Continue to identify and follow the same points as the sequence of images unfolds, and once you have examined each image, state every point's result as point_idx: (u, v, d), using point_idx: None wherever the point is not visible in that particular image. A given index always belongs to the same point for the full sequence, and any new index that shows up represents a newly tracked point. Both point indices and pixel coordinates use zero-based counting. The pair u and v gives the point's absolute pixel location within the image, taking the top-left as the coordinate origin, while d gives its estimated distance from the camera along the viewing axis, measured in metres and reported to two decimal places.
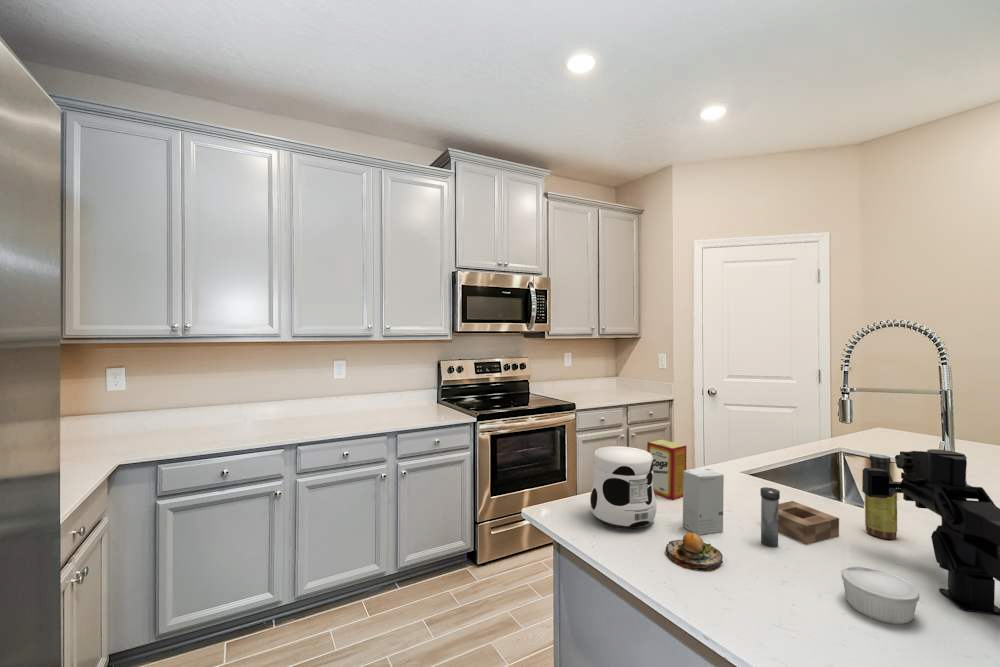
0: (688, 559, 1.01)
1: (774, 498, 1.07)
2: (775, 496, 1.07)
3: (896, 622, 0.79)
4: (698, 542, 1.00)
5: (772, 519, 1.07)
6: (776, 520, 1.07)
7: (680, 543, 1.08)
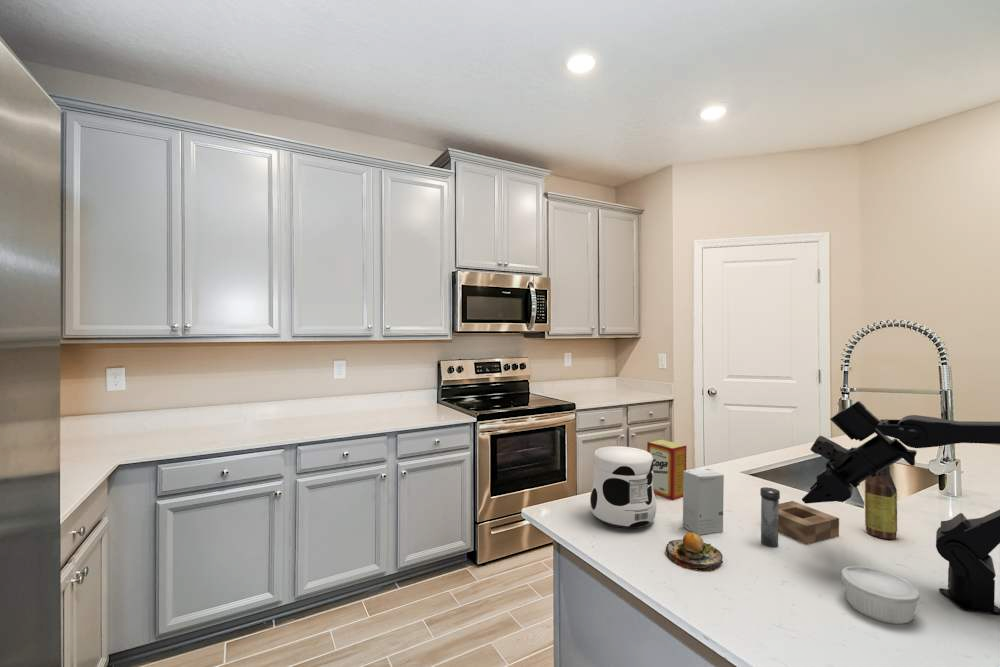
0: (688, 559, 1.01)
1: (774, 498, 1.07)
2: (775, 496, 1.07)
3: (896, 622, 0.79)
4: (698, 542, 1.00)
5: (772, 519, 1.07)
6: (776, 520, 1.07)
7: (680, 543, 1.08)
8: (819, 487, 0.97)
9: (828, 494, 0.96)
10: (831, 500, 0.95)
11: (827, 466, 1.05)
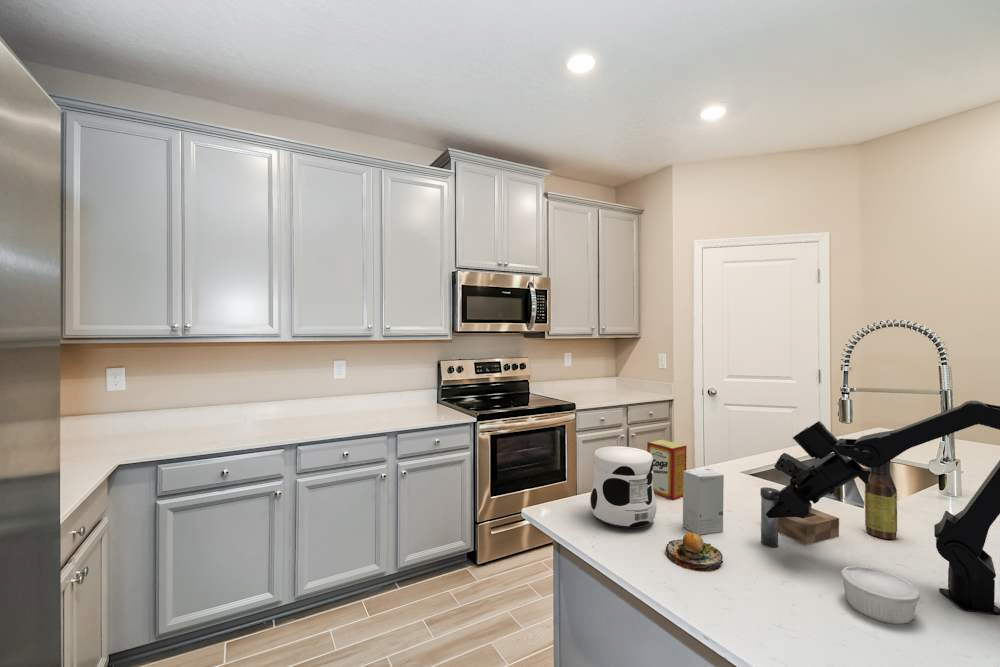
0: (688, 559, 1.01)
1: (774, 498, 1.07)
2: (775, 496, 1.07)
3: (896, 622, 0.79)
4: (698, 542, 1.00)
5: (772, 519, 1.07)
6: (776, 520, 1.07)
7: (680, 543, 1.08)
8: (781, 503, 1.02)
9: (789, 510, 1.01)
10: (791, 516, 1.00)
11: (791, 482, 1.10)
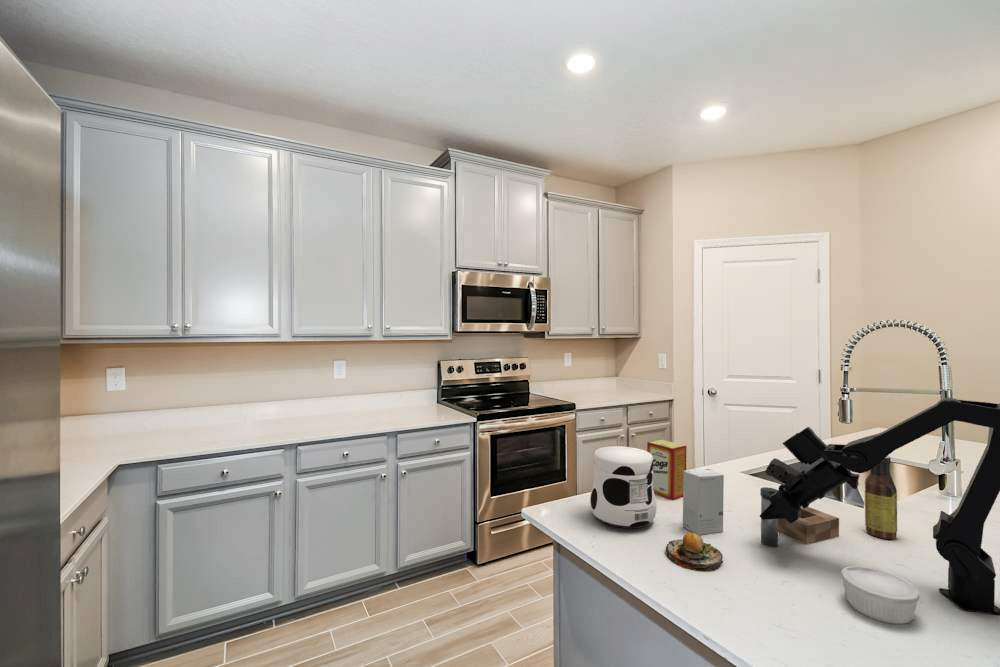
0: (688, 559, 1.01)
1: None
2: None
3: (896, 622, 0.79)
4: (698, 542, 1.00)
5: (772, 519, 1.07)
6: (776, 520, 1.07)
7: (680, 543, 1.08)
8: (774, 505, 1.05)
9: None
10: (784, 517, 1.03)
11: (779, 489, 1.09)
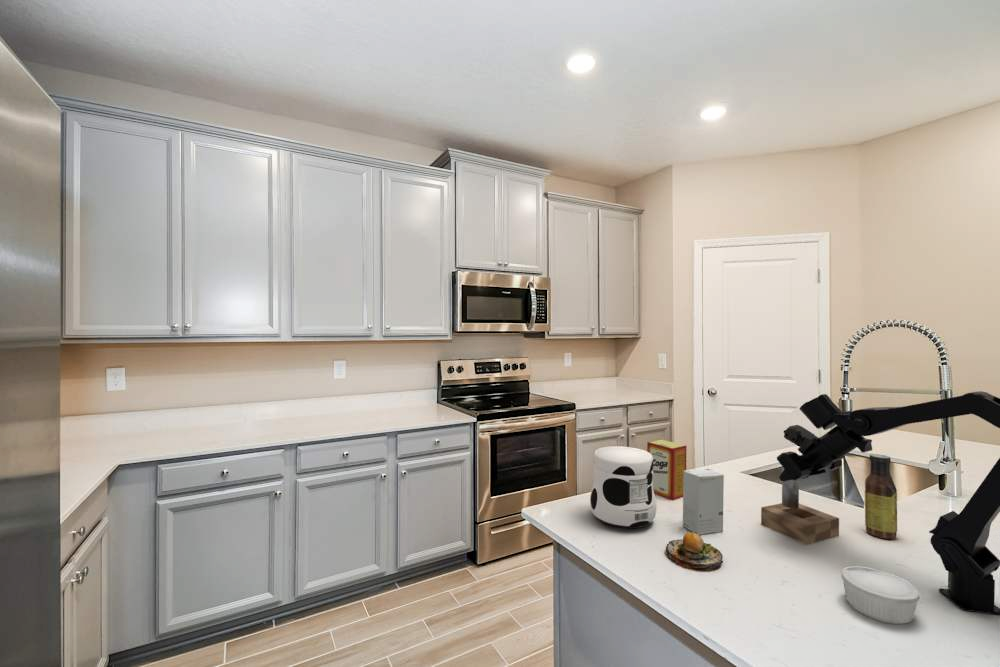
0: (688, 559, 1.01)
1: None
2: None
3: (896, 622, 0.79)
4: (698, 542, 1.00)
5: (790, 481, 1.13)
6: (795, 482, 1.13)
7: (680, 543, 1.08)
8: None
9: None
10: None
11: (803, 455, 1.15)
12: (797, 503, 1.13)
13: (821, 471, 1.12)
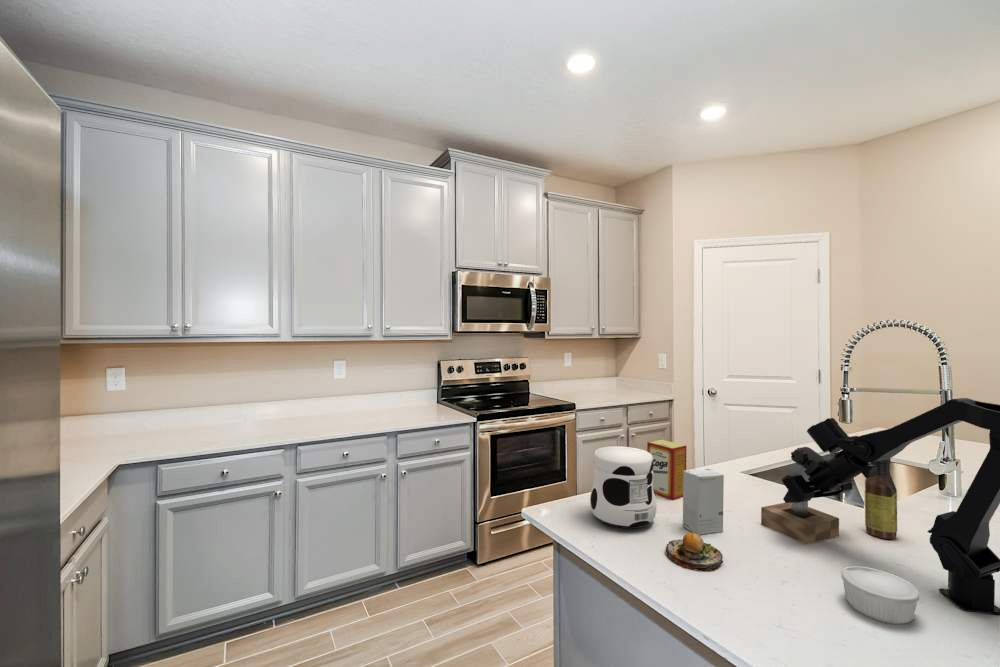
0: (688, 559, 1.01)
1: None
2: None
3: (896, 622, 0.79)
4: (698, 542, 1.00)
5: (798, 506, 1.15)
6: (803, 508, 1.15)
7: (680, 543, 1.08)
8: None
9: None
10: None
11: None
12: None
13: (834, 493, 1.13)
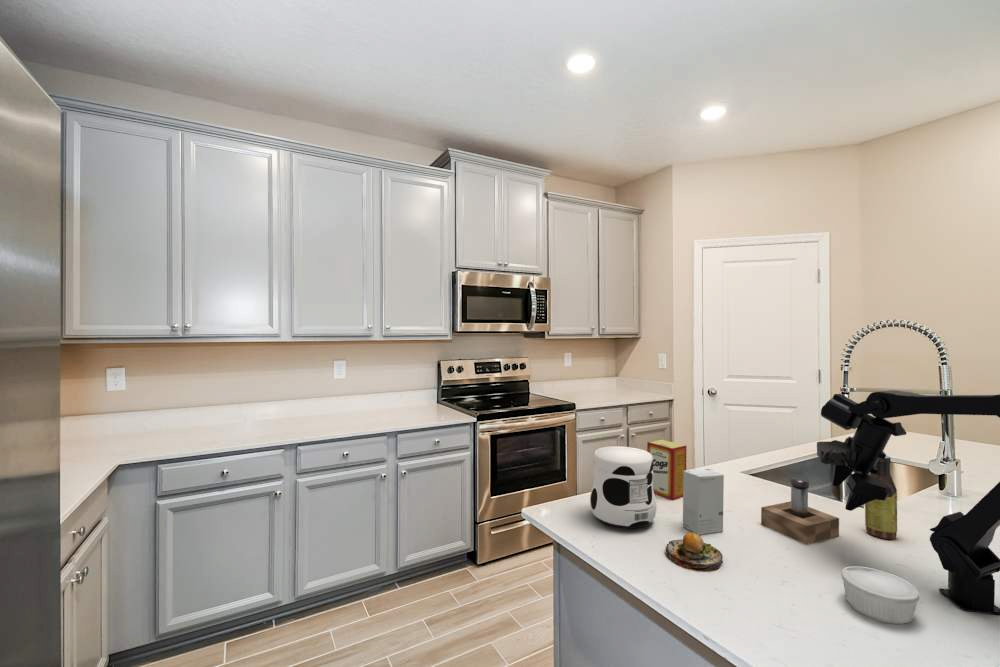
0: (688, 559, 1.01)
1: (800, 487, 1.14)
2: (801, 485, 1.14)
3: (896, 622, 0.79)
4: (698, 542, 1.00)
5: (798, 506, 1.15)
6: (803, 508, 1.15)
7: (680, 543, 1.08)
8: (855, 494, 1.00)
9: (866, 495, 0.99)
10: (872, 499, 0.99)
11: None
12: None
13: None
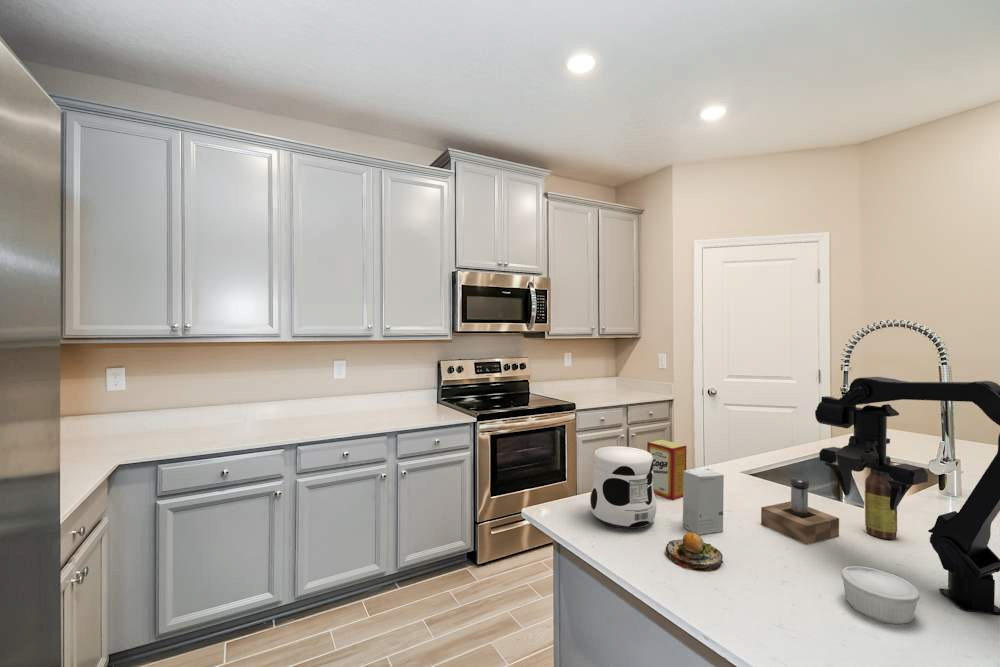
0: (688, 559, 1.01)
1: (800, 487, 1.14)
2: (801, 485, 1.14)
3: (896, 622, 0.79)
4: (698, 542, 1.00)
5: (798, 506, 1.15)
6: (803, 508, 1.15)
7: (680, 543, 1.07)
8: None
9: None
10: (909, 487, 0.96)
11: (838, 467, 1.05)
12: None
13: None
